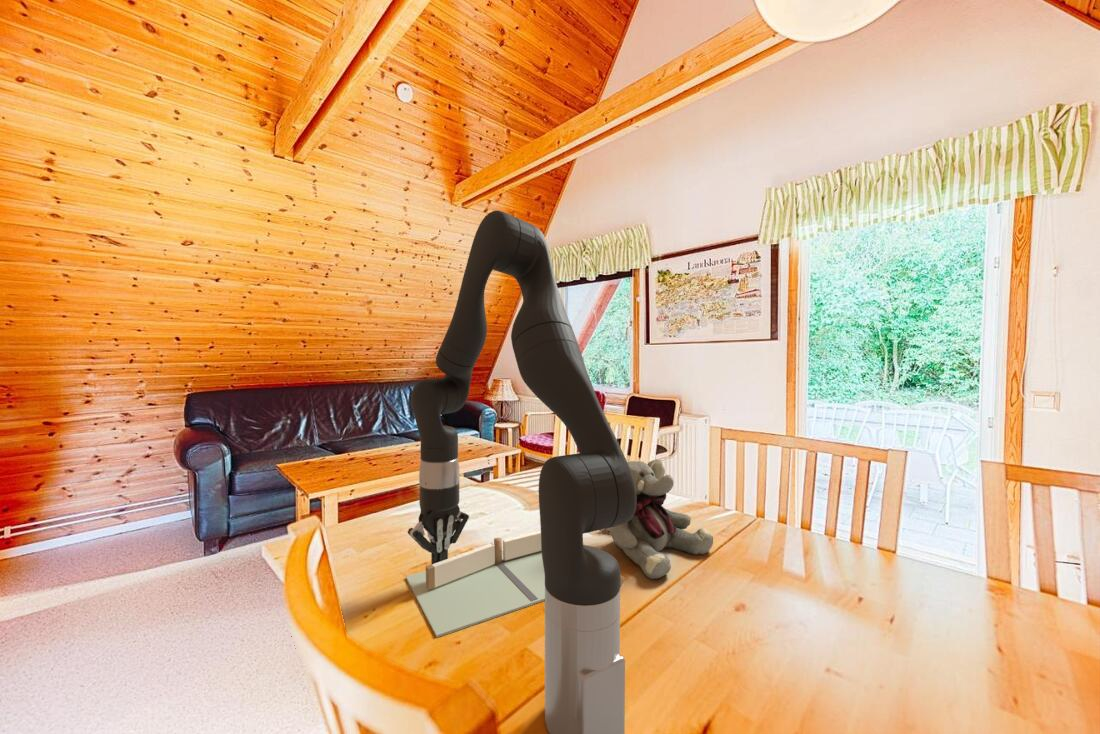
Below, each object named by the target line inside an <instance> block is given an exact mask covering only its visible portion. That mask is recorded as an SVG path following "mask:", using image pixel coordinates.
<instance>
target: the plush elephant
mask: <svg viewBox="0 0 1100 734" xmlns="http://www.w3.org/2000/svg"><path fill="white" fill-rule="evenodd" d="M627 463H628V465H629V468H630V471H631V474H632V477H633V480H634V484H635V489H636V496H637V504H636V510H635V513H634V515H633V517H632V519H631V520H630V521H628V522H627V523H625V524H622V525H618V526H615V527H610V528H606V529H604V531H605V532H606V531H607V532H609V533H610V535H611V538H612V541H613V542H614V543H615V544H616V546H617V547H618V548H619V549H620V550H621V551H623V552H624V554H625V555H626V556H627V557H628V558H629V559H631V561H633V562H634V563H635V564H637V565H638V566H639V567H640V568H641V570H642V572H643V574H644V575H645V576H646V577H647V578H648V579H651V580H655V579H660V578H662V577H664V576H666V575H668V574H669V573H670V571H671V569H672V565H671V564H672V563H671V560H670V558H669V556H667V555H666V554H665V553H663V552H661V551H662V550H663V549H664V548H666V549H667V548H670V549H675V550H679V551H682V552H685V553H688V554H691V555H694V556H697V555H700V554H704V555H705V553H706V554H707V553H709V551H710V550H711V549H712V547H713V544H714V537H713V535H712V533H711V532H710V531H709V530H707V529H706V528H704V527H701V528H699V529H697V530H696V531H695V532H689V531H687V530H685V529H687V528H688V527H689V526H690V525H691V521H692V519H691V516H689V514H686V513H682V512H681V513H679V512H676V511H672V510H669V509H668V508H666V507H664V506H663V505H664V503H665V501H666V499H667V494H668V493H670V491H672V489H673V487H674V483H675V482H674V479H673V477H672V476H671V474H666V469H665V467H664V465H663V461H662V460H661V459H657V458H656V459H652V460H650V461H649V462H647V463H645V461H643V460H630V461H627Z"/></svg>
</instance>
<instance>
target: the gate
mask: <svg viewBox="0 0 1100 734" xmlns="http://www.w3.org/2000/svg"><path fill="white" fill-rule="evenodd" d="M493 564H495V545H494V543H489V544H485V545H483V546H480V547H476V548H475V549H472V550H468V551H465V552H463V553H460V554H457V555H454V556H452V557H448V559H446V560H443V561H440V562H437V563H434V564H428V565H427V566H425V571H426V588H427V589H429V590H430V589H433V588H435V587H438V586H440V585H443V584H445V583H448V582H450V581H453V580H455V579H458V578H460V577H463V576H466V575H468V574H471V573H473V572H476V571H478V570H481V569H483V568H486V567H488V566H491V565H493Z"/></svg>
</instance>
